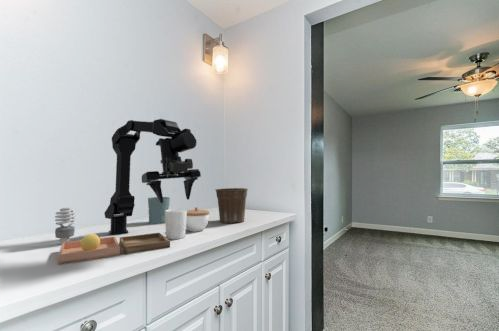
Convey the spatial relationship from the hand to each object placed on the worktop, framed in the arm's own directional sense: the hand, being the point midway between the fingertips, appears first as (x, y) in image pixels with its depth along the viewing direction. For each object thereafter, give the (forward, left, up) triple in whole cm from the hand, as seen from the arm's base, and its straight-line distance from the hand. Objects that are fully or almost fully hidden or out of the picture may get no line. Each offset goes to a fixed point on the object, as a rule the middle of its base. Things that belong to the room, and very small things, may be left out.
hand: (175, 201), depth 85 cm
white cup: (-10, +3, -15) cm, 18 cm away
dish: (-5, -24, -14) cm, 28 cm away
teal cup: (-44, +5, -15) cm, 46 cm away
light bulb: (-22, -31, -15) cm, 40 cm away
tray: (-5, -9, -14) cm, 18 cm away
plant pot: (-27, +36, -15) cm, 47 cm away
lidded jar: (-18, +14, -15) cm, 27 cm away
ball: (-5, -24, -14) cm, 28 cm away
